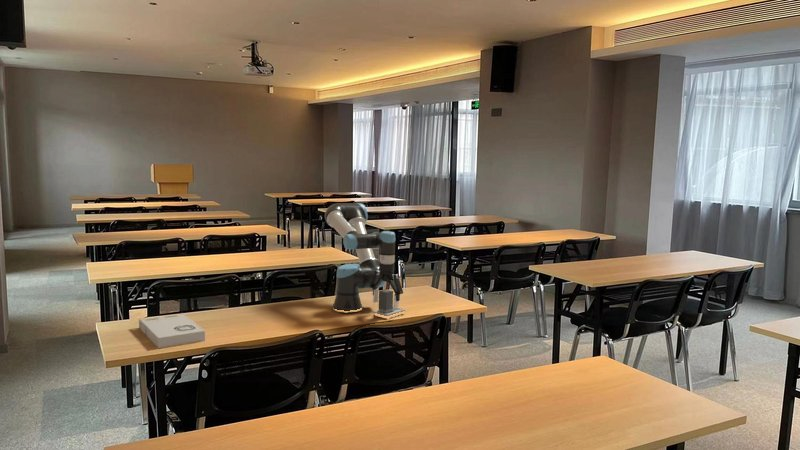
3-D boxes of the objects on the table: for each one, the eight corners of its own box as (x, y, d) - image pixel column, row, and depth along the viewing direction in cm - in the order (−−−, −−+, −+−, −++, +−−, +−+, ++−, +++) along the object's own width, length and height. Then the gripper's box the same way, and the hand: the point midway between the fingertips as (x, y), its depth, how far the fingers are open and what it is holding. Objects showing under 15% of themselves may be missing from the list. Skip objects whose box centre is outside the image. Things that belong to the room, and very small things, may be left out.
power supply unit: (182, 323, 272) (181, 312, 271) (205, 342, 246) (205, 330, 245) (139, 329, 261) (138, 318, 260) (158, 350, 235) (158, 338, 234)
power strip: (373, 315, 291) (373, 310, 290) (391, 310, 301) (392, 305, 301) (386, 319, 285) (387, 314, 284) (405, 314, 295) (405, 308, 295)
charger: (378, 314, 290) (379, 290, 289) (385, 312, 294) (385, 289, 293) (385, 316, 287) (386, 292, 286) (392, 314, 291) (393, 290, 289)
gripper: (363, 260, 293) (362, 301, 295) (401, 267, 277) (399, 311, 279) (373, 258, 298) (372, 298, 301) (411, 265, 282) (409, 308, 285)
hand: (385, 304), depth 290 cm, fingers open, 13 cm apart
